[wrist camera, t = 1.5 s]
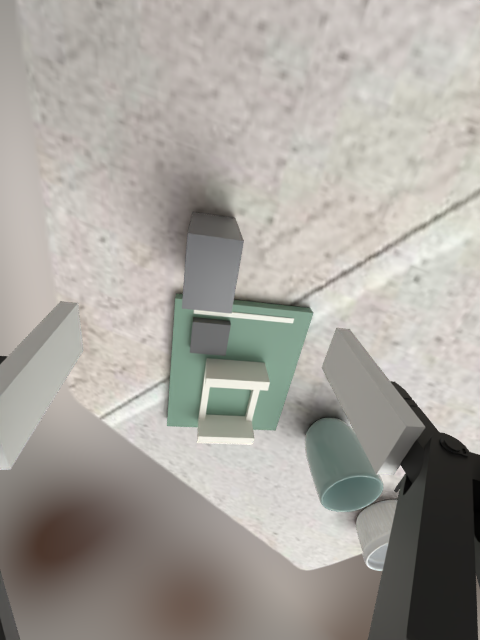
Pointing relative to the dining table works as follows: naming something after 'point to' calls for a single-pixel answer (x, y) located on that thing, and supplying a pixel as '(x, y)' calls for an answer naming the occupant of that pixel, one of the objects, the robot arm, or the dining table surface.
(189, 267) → the plug
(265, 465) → the dining table surface
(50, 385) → the robot arm
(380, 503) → the ramekin
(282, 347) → the board
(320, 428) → the cup
